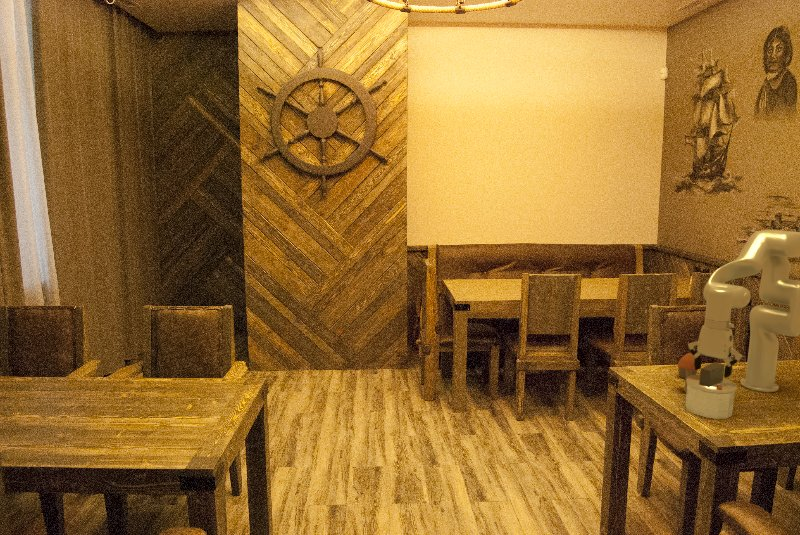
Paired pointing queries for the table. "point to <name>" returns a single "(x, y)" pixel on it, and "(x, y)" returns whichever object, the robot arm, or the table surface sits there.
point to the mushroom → (687, 365)
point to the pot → (709, 403)
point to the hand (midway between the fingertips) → (712, 372)
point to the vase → (683, 372)
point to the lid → (712, 380)
